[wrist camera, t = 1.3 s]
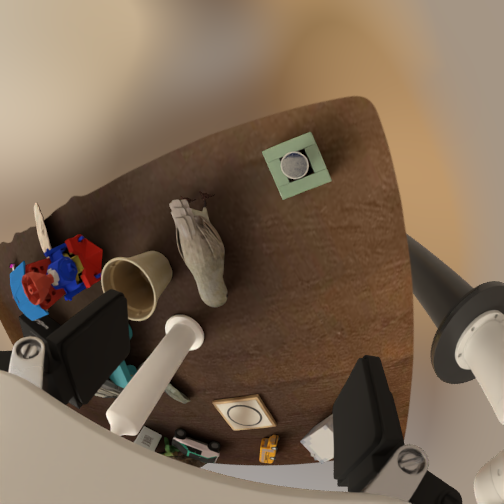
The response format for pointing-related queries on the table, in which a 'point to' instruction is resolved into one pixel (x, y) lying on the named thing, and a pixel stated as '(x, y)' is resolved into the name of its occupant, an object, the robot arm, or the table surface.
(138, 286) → the flower pot
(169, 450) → the decorative plant
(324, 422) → the toy
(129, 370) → the teal mechanical bracket
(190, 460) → the concrete sample
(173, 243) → the table surface
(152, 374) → the candle
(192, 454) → the toy car
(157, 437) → the cosmetic box
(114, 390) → the toy gun
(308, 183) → the pen stand
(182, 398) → the stone
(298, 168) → the marker
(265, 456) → the toy bus
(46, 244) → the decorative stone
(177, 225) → the decorative bird
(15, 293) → the toy train
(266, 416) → the framed picture
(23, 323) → the box
